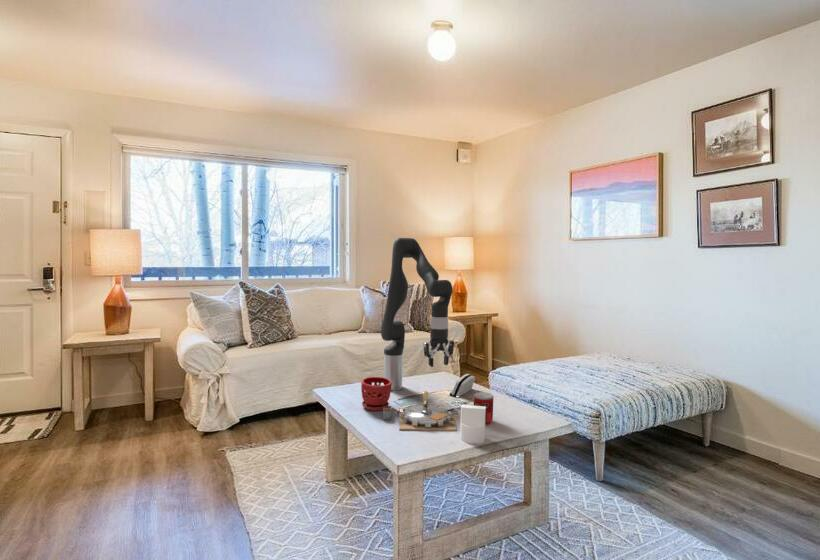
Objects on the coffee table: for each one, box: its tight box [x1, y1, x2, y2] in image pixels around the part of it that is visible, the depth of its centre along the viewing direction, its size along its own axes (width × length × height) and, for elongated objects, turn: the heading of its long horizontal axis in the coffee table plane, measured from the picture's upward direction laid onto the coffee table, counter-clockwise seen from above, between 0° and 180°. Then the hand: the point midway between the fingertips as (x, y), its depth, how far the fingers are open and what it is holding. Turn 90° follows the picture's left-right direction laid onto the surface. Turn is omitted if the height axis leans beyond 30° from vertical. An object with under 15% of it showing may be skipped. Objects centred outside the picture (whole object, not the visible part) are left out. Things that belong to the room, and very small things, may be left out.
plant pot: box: [360, 376, 392, 412], centre depth 204 cm, size 13×13×12 cm
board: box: [398, 408, 457, 432], centre depth 192 cm, size 22×22×1 cm
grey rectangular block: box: [382, 405, 392, 422], centre depth 193 cm, size 6×3×4 cm, turn 2°
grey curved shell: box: [448, 373, 476, 397], centre depth 228 cm, size 17×5×10 cm, turn 150°
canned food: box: [473, 391, 494, 426], centre depth 191 cm, size 8×8×11 cm
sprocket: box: [401, 390, 453, 427], centre depth 191 cm, size 20×20×8 cm
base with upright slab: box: [459, 404, 486, 445], centre depth 174 cm, size 9×9×12 cm
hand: (438, 365), depth 201 cm, fingers open, 6 cm apart
